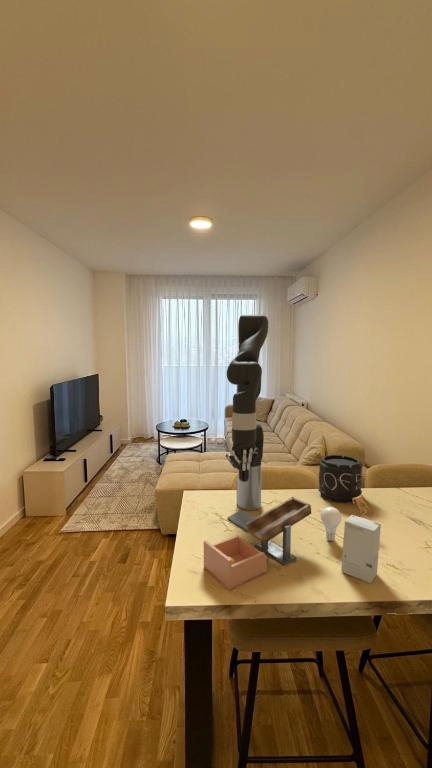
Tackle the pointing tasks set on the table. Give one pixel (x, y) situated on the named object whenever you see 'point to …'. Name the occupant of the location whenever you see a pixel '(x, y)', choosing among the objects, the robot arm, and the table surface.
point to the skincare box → (361, 548)
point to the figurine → (361, 506)
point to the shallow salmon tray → (246, 561)
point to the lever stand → (279, 548)
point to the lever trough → (271, 519)
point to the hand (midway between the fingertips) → (243, 480)
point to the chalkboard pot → (340, 478)
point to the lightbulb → (330, 521)
